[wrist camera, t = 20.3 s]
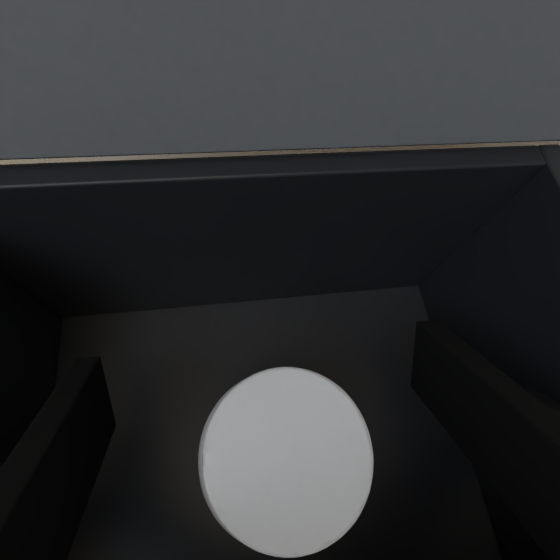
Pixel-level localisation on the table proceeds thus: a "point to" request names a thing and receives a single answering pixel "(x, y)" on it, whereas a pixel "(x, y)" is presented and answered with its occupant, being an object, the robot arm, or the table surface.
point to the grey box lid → (273, 75)
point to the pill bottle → (286, 462)
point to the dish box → (279, 323)
